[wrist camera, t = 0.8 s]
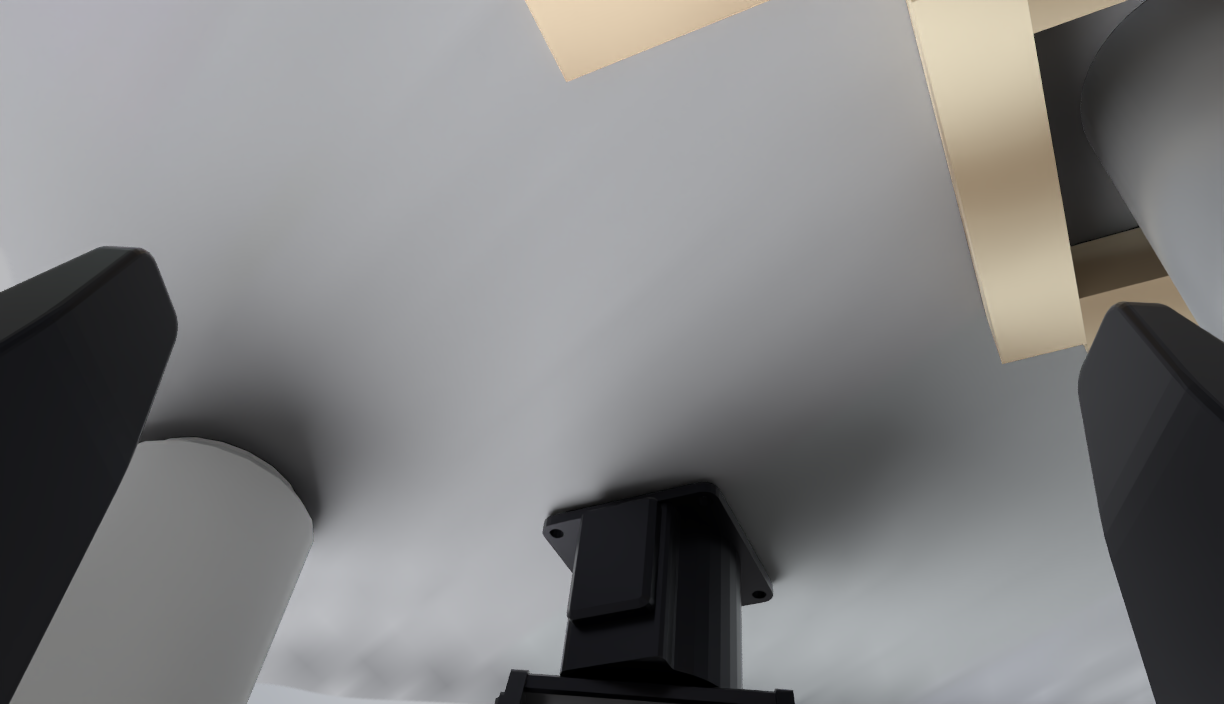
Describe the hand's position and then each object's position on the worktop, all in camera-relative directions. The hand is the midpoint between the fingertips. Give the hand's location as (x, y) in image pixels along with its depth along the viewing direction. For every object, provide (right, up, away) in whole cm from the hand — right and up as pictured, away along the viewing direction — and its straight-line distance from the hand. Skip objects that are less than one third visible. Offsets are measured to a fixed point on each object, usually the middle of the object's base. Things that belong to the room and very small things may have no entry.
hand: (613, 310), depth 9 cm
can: (-14, -5, +25) cm, 29 cm away
